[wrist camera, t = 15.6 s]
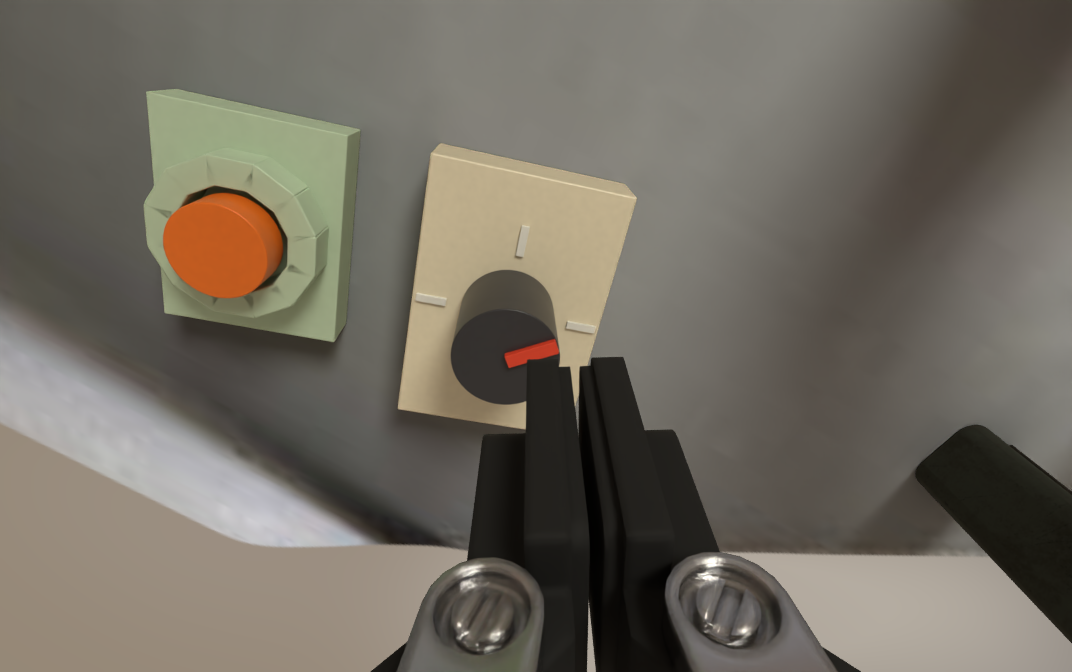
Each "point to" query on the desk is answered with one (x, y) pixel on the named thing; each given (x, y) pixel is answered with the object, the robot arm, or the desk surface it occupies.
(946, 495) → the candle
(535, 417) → the robot arm
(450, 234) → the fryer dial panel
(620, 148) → the desk surface
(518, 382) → the knob
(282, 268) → the button block
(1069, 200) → the desk surface
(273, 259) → the button
